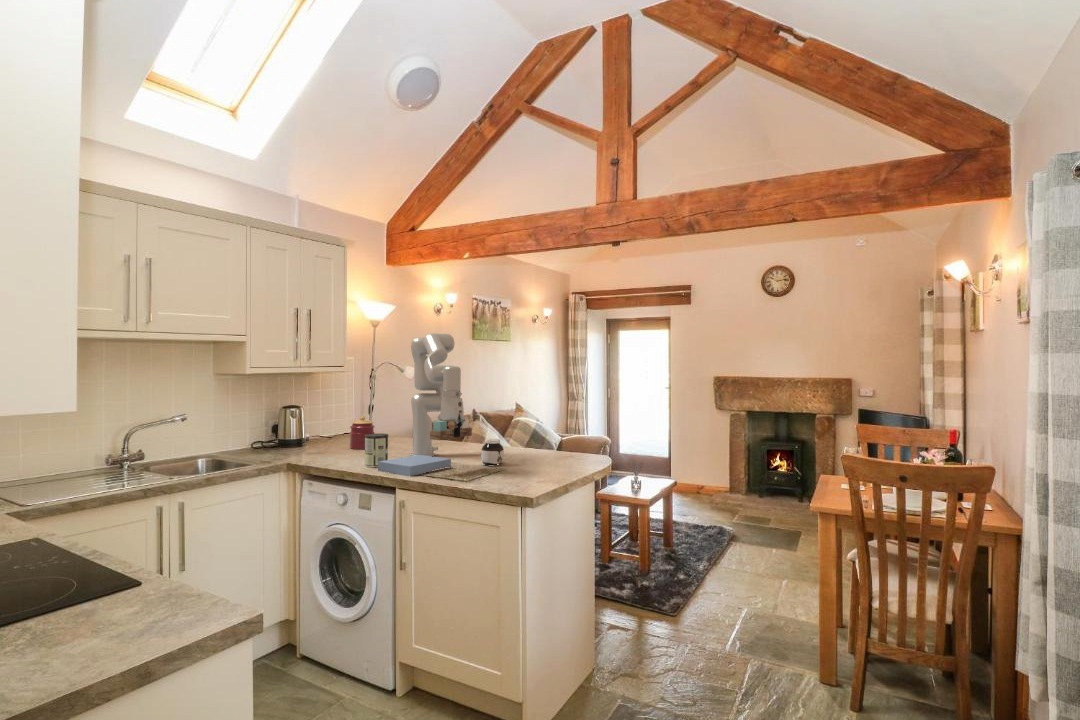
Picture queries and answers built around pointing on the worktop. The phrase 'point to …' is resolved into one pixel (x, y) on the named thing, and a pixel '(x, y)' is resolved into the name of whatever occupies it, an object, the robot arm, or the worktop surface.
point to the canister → (360, 432)
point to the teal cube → (439, 425)
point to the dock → (413, 465)
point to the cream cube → (465, 424)
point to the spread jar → (492, 452)
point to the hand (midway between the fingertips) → (451, 435)
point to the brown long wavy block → (449, 433)
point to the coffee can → (375, 449)
